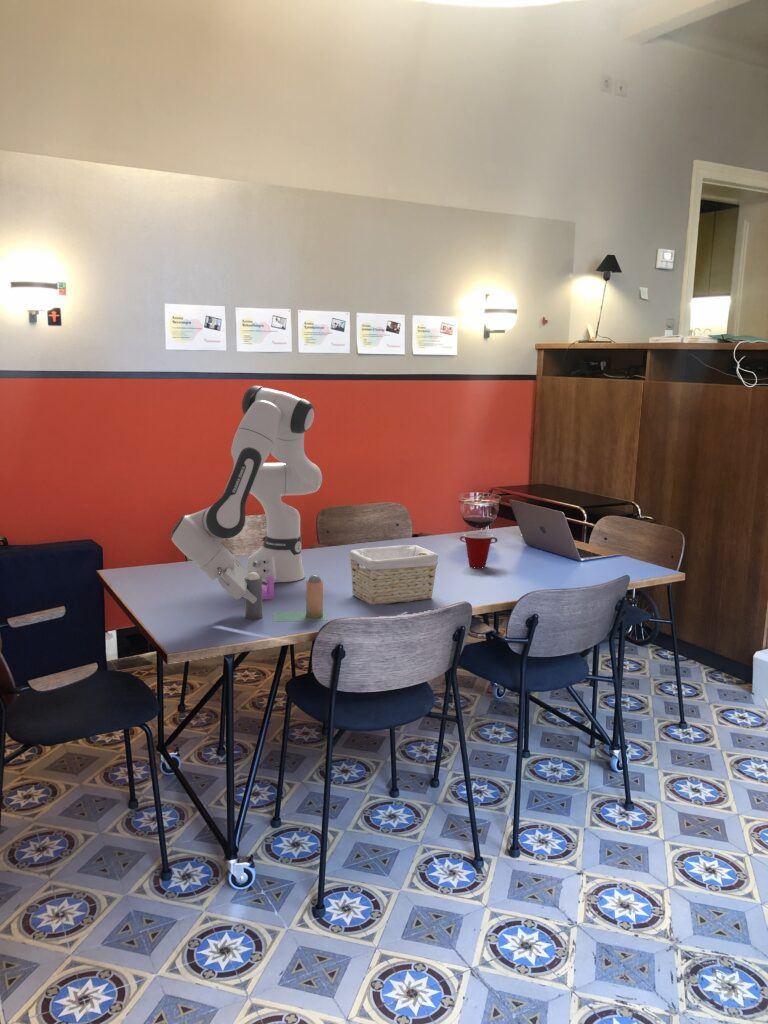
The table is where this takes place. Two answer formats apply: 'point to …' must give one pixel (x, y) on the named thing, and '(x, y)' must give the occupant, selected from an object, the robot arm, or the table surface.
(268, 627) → the table surface
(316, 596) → the orange cylinder
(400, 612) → the table surface
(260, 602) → the charcoal tube
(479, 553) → the plastic cup
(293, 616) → the green card
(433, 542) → the table surface
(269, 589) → the bracket
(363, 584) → the storage basket
